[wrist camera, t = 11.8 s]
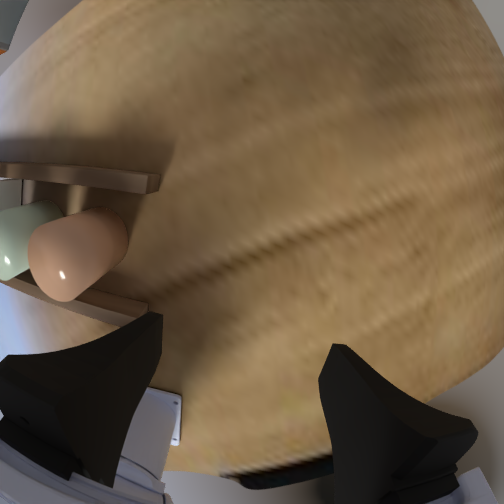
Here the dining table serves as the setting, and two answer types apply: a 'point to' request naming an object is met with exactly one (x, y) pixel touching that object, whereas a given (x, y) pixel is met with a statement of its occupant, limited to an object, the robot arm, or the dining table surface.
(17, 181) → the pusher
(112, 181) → the lane
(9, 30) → the alarm clock
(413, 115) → the dining table surface
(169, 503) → the robot arm
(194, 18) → the dining table surface
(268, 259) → the dining table surface
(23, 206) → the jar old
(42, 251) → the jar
